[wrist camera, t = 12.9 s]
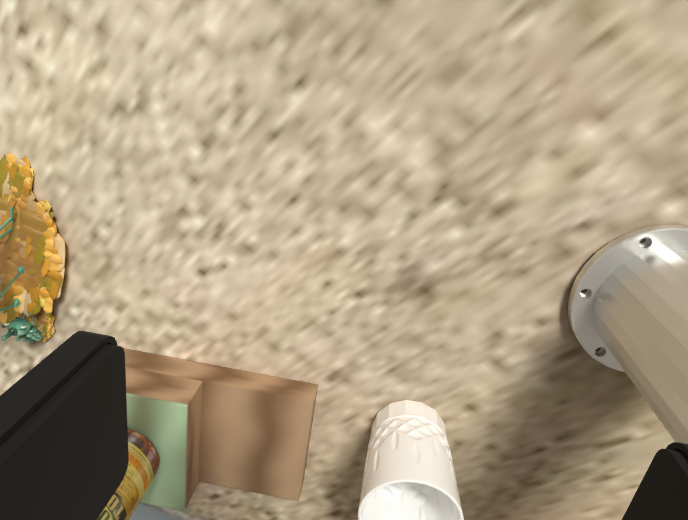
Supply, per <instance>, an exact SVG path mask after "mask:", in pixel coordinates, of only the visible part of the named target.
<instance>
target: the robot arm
mask: <svg viewBox="0 0 688 520" xmlns="http://www.w3.org/2000/svg"><path fill="white" fill-rule="evenodd" d="M641 239H643V240H642V241H640V240H641ZM583 289H585V290H584V291H582V290H583ZM568 317H569V321H570V325H571V328H572V331H573V333H574V334H575V336H576V338H577V340H578V341H579V343H580V344H581V346H582V347H583V349H584V350H585V351H586V352H587V353H588V354H589V355H590V356H591V357H592V358H593V359H595V360H596V361H598V362H600V363H601V364H603V365H605V366H606V367H609V368H612V369H615V370H617V371H620V372H625V373H626V374H627V375H628V377H629V378H630V380H631V381H632V382H633V384H634V385H635V387H636V388H637V389H638V391H639V392H640V394H641V395H642V396H643V398H644V399H645V401H646V402H647V403H648V405H649V406H650V407H651V409H652V410H653V412H654V413H655V414H656V416H657V417H658V419H659V420H660V421H661V423H662V424H663V426H664V427H665V428H666V430H667V431H668V433H669V434H670V435H671V437H672V438H673V440H674V441H675V442H674V443H671V444H670V445H668V446H667V448H666V449H661V450H659V451H658V452H657V453H656V455H655V456H654V458H653V460H652V462H651V464H650V466H649V468H648V470H647V472H646V474H645V476H644V478H643V480H642V482H641V484H640V486H639V488H638V489H637V491H636V493H635V495H634V497H633V499H632V501H631V503H630V505H629V507H628V509H627V511H626V513H625V515H624V517H623V519H622V520H688V226H682V225H657V226H651V227H645V228H641V229H638V230H635V231H632V232H629V233H627V234H624V235H622V236H620V237H619V238H617V239H615V240H613V241H611V242H609V243H608V244H607V245H605V246H604V247H603V248H601V249H600V250H599V251H597V252H596V253H595V254H594V255H593V256H592V257H591V258H590V259H589V260H588V261H587V263H586V264H585V265H584V266H583V268H582V269H581V271H580V272H579V274H578V275H577V277H576V279H575V281H574V284H573V286H572V289H571V292H570V297H569V302H568ZM128 462H129V454H128V426H127V398H126V369H125V351H124V349H123V348H122V347H120V346H117V342H116V340H115V338H114V337H112V336H107V335H102V334H96V333H91V332H86V331H78V332H77V333H75V334H73V335H72V336H71V337H70V338H69V339H67V340H66V341H65V342H64V343H63V344H61V345H60V346H59V347H58V348H57V349H56V350H54V351H53V352H52V353H51V354H50V355H48V356H47V357H46V358H45V359H44V360H42V361H41V362H40V363H39V364H38V365H36V366H35V367H34V368H33V369H32V370H31V371H29V372H28V373H27V374H26V375H25V376H23V377H22V378H21V379H20V380H19V381H17V382H16V383H15V384H14V385H13V386H11V387H10V388H9V389H8V390H7V391H6V392H4V393H3V394H2V395H1V396H0V520H97V519H98V517H99V516H100V514H101V513H102V511H103V510H104V508H105V507H106V505H107V504H108V502H109V501H110V499H111V498H112V496H113V495H114V493H115V492H116V490H117V489H118V487H119V485H120V484H121V482H122V481H123V479H124V476H125V474H126V471H127V468H128Z"/></svg>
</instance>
